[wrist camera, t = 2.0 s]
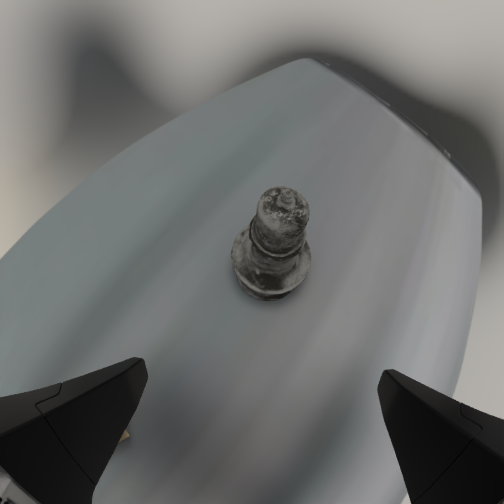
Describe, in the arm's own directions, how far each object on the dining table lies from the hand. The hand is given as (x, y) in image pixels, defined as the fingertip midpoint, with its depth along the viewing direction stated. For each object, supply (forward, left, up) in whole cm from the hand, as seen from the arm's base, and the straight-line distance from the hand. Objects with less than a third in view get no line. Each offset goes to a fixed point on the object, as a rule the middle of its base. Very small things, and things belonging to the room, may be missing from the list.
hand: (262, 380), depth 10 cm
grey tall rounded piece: (+7, -4, -13) cm, 16 cm away
